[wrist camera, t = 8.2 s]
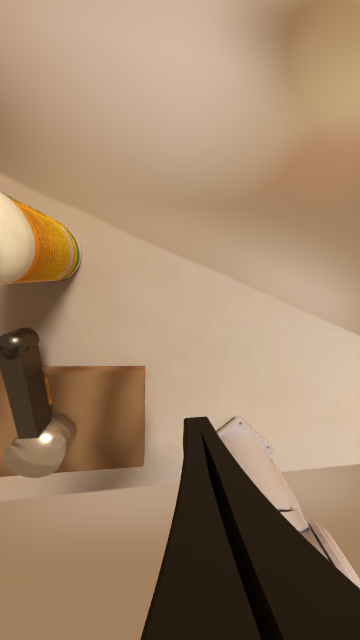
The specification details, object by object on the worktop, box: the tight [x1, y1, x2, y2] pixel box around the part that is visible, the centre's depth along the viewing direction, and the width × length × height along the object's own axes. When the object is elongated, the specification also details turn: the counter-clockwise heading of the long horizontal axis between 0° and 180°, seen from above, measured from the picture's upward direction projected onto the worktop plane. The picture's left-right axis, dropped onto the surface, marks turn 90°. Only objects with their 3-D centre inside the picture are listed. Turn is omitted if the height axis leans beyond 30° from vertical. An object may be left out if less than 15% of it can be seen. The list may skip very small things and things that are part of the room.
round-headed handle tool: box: [0, 328, 77, 478], centre depth 16 cm, size 15×5×3 cm, turn 177°
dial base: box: [0, 366, 145, 477], centre depth 20 cm, size 20×14×2 cm
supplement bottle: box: [0, 192, 81, 285], centre depth 11 cm, size 5×5×10 cm
